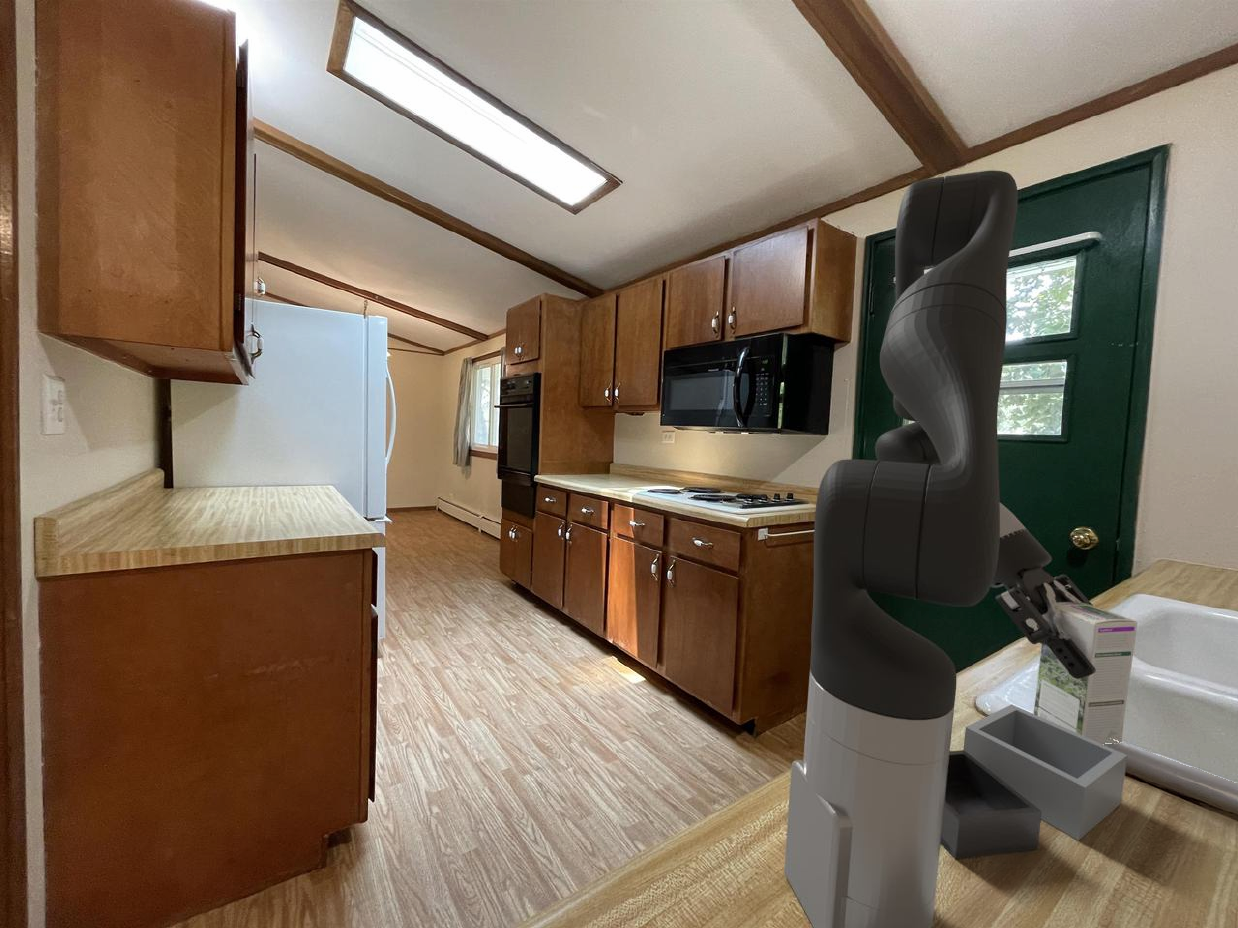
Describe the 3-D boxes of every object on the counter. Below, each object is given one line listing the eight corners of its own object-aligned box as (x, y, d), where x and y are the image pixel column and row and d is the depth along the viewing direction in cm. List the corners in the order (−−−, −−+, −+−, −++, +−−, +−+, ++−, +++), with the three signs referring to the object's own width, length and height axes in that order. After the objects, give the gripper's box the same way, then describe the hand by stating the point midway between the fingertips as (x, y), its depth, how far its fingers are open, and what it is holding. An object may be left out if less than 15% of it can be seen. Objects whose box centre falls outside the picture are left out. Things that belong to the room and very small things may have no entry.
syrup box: (1123, 744, 56) (1142, 620, 55) (1078, 748, 55) (1096, 621, 54) (1071, 714, 62) (1086, 600, 60) (1029, 717, 61) (1044, 601, 60)
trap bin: (955, 858, 42) (959, 819, 42) (889, 788, 50) (892, 755, 49) (1037, 849, 43) (1041, 811, 43) (960, 782, 51) (963, 749, 51)
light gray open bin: (1078, 840, 44) (1085, 787, 44) (961, 772, 53) (965, 726, 52) (1120, 803, 49) (1127, 755, 48) (1006, 746, 57) (1011, 704, 57)
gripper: (992, 531, 59) (1110, 670, 50) (1047, 522, 66) (1160, 643, 57) (941, 562, 65) (1040, 694, 56) (997, 551, 72) (1094, 667, 62)
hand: (1101, 668), depth 56 cm, fingers closed on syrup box, 7 cm apart
